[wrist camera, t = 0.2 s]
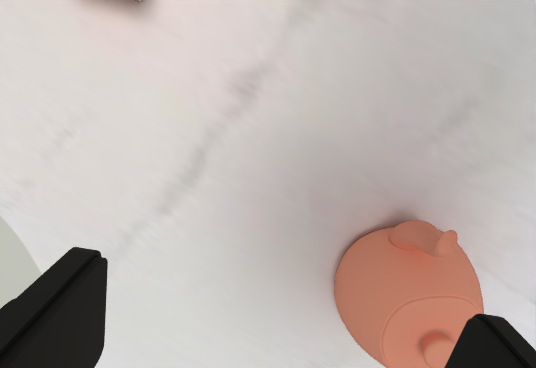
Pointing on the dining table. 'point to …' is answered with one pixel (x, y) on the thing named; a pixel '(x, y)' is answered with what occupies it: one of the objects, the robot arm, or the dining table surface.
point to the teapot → (407, 294)
